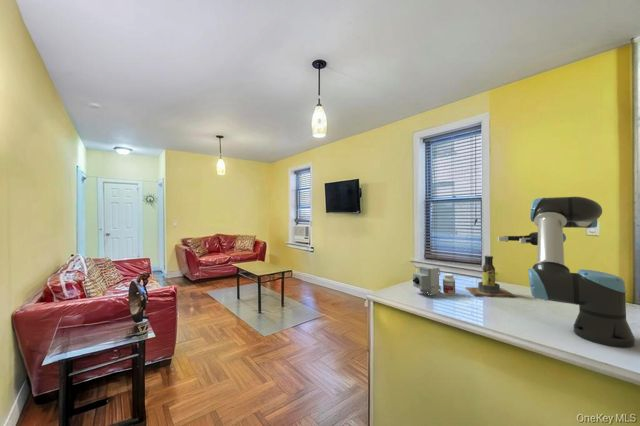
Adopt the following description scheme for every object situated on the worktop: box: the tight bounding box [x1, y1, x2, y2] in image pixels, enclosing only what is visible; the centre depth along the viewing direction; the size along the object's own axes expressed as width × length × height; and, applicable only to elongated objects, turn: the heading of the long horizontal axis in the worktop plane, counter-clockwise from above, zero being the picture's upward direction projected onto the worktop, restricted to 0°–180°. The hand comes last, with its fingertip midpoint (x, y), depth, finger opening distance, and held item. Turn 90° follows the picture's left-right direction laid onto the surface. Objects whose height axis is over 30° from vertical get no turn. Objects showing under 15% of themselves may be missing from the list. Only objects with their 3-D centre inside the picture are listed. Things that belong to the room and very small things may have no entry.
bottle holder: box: [465, 281, 516, 298], centre depth 151 cm, size 20×14×5 cm
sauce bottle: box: [481, 254, 496, 286], centre depth 152 cm, size 6×6×20 cm
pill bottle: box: [442, 273, 456, 296], centre depth 152 cm, size 6×6×11 cm
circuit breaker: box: [412, 265, 442, 296], centre depth 153 cm, size 8×14×15 cm, turn 107°
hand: (508, 240), depth 151 cm, fingers open, 13 cm apart
